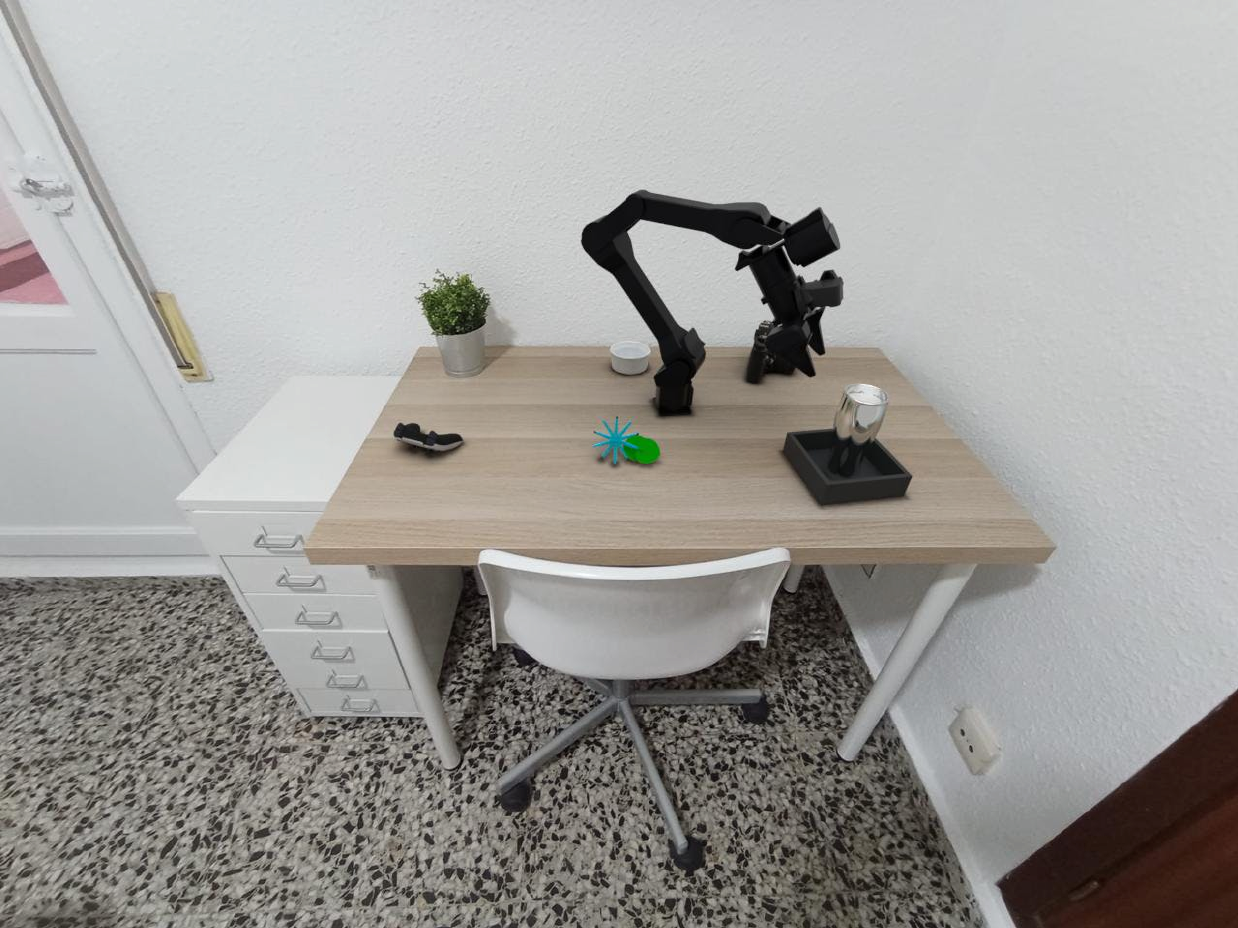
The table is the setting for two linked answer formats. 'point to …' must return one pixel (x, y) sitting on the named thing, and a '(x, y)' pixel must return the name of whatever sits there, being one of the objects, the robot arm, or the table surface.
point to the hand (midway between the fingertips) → (818, 365)
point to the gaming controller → (426, 438)
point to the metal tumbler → (855, 429)
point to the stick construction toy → (630, 445)
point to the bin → (875, 481)
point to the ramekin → (629, 357)
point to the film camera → (764, 356)
